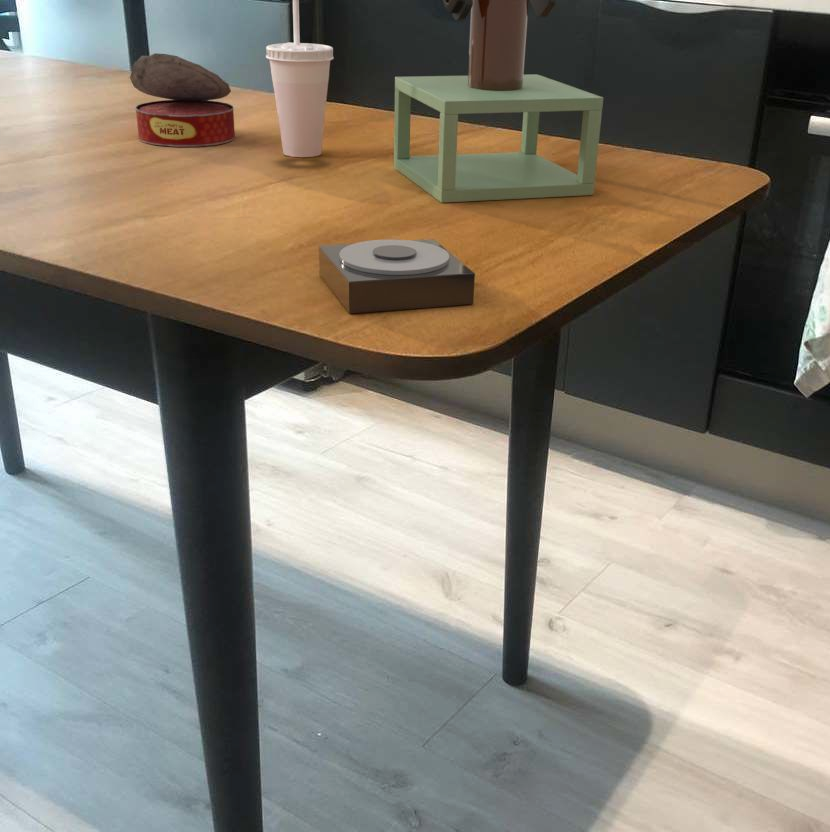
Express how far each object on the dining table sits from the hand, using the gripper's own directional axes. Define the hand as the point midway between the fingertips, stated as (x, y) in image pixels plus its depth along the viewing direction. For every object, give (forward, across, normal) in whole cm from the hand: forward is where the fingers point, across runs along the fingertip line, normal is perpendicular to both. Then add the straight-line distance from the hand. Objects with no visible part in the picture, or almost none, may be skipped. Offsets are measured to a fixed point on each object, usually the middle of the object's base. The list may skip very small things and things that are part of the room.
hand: (507, 12), depth 90 cm
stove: (+26, +24, +6) cm, 36 cm away
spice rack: (+9, 0, -11) cm, 14 cm away
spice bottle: (+3, 0, -5) cm, 6 cm away
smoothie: (-4, +10, -24) cm, 26 cm away
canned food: (-12, +17, -32) cm, 38 cm away
